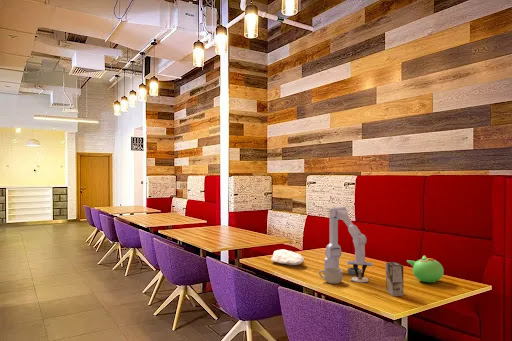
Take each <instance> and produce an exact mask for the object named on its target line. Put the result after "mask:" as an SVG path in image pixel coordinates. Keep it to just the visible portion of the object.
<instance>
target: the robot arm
mask: <svg viewBox="0 0 512 341" xmlns="http://www.w3.org/2000/svg"><path fill="white" fill-rule="evenodd" d="M328 211H329V212H328V213H329V215H328V216H329V243H328V244H327V245H325V246H326V247H325V253H324V254H325V256H326V257H325V258H324V261H323V262H324V265H323V266H324V270H325V269H326V268H339V269H340V258H341V256H342V249H341V245H340V244H339V243H338V242H339V234H338V233H339V229H338V228H339V222H338V221H340V219H341V220H342V222H343V223H345V226H347V230H348V232H349V234H350V236H351V238H352V243H353V247H354V260H347V265H350V266H351V265H352V267H353V268H354V270H355V272H356V276H355V277H358V268H359V266H361V272H362V278H363V277H365V273H366V269H367V267H373V262H372V261H371V262H369V261H366V250H365V249H366V248H365V247H366V246H365V245H366V244H367V240H368V239H367V236H366V235H365V234H363V233H361V230H360V229H359V228H358V226H357V225H356V224H354V223H353V222H352V220H351V218H350V216H349V214H348V210H347V208H346V207H345V206H335V207H331V208H330V209H329V210H328Z"/></svg>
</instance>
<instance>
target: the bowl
mask: <svg viewBox="0 0 512 341" xmlns="http://www.w3.org/2000/svg"><path fill="white" fill-rule="evenodd" d="M358 272H362V268H359V267H358ZM347 275H350V276H353V277H356V272H355V270H354V268H353V266H352V267H348V268H347Z"/></svg>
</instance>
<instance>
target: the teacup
mask: <svg viewBox="0 0 512 341" xmlns="http://www.w3.org/2000/svg"><path fill="white" fill-rule="evenodd" d="M321 273H323V275H324V276H323V275H322V274H321ZM318 275H319V276H320V277H321V278H322V279H323V280H325V281H326V283H328V284H332V285H337V284H340V283H342V281H343V269H341V268H340V267H339V268H326V269H325V270H323V269H320V270H318Z"/></svg>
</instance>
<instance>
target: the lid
mask: <svg viewBox="0 0 512 341" xmlns="http://www.w3.org/2000/svg"><path fill="white" fill-rule="evenodd" d="M351 280H352V281H355V282H354V283H357V282H361V284H364V283H363V282H368V281H370V278H367V277H365V276H364V277H363V278H362V271H361V272H358V277H356V276H353V277H351ZM368 283H369V282H368Z"/></svg>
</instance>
